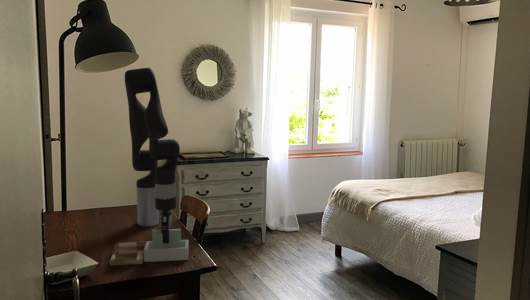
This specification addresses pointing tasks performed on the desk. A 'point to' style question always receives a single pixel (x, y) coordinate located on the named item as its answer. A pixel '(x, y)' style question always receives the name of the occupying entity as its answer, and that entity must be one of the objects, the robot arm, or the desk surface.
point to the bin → (166, 252)
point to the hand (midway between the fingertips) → (166, 239)
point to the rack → (128, 262)
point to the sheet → (173, 239)
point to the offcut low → (125, 256)
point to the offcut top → (128, 248)
